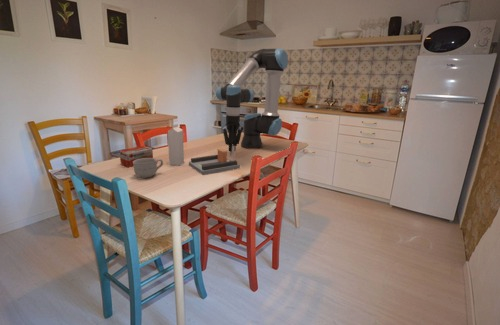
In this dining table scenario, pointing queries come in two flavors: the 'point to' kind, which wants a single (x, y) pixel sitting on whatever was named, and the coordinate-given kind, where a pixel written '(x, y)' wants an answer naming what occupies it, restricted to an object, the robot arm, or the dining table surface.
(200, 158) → the set of dark strips
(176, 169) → the dining table surface
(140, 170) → the teacup
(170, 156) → the milk
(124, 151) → the medicine box
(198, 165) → the panel
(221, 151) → the orange rectangular block
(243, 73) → the robot arm
